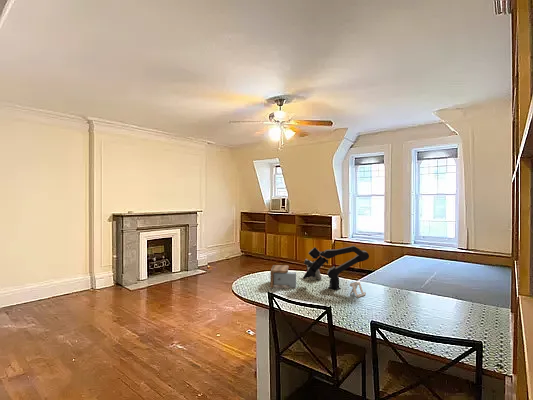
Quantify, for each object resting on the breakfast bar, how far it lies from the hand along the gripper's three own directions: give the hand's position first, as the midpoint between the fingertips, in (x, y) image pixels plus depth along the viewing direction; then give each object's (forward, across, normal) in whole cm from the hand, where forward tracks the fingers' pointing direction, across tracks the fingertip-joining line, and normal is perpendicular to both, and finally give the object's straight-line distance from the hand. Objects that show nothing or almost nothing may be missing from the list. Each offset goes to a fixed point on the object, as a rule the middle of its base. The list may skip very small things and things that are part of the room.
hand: (303, 278), depth 230 cm
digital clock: (-1, -26, +10) cm, 29 cm away
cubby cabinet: (+16, -4, -8) cm, 18 cm away
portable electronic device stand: (-20, +14, +31) cm, 39 cm away
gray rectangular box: (+14, 0, -5) cm, 15 cm away
